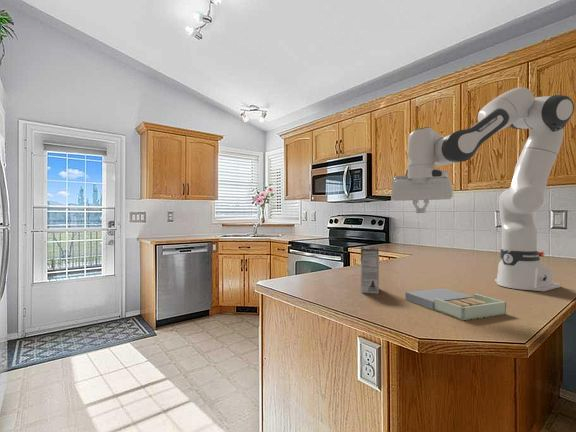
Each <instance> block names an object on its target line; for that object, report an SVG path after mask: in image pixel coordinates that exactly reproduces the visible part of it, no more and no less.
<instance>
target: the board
mask: <svg viewBox="0 0 576 432" xmlns="http://www.w3.org/2000/svg"><path fill="white" fill-rule="evenodd" d="M434 298H437V299H440V300H443V301H453V300H461V299H468V298H473V296H471V295H468V294H465V293H461V292H458V291H454V290H451V289H447V288H445V287H444V288H443V287H442V288H441V287H439V288H433V289H424V290H415V291H414V290H413V291H406V292H405V300H406V301H407V302H410V303H413V304H416V305H418V306H421V307H424V308H426V307H427V309H429V308H430V309H429V310H432V311H435V310H434Z"/></svg>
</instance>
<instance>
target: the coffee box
mask: <svg viewBox="0 0 576 432" xmlns="http://www.w3.org/2000/svg"><path fill="white" fill-rule="evenodd" d="M378 247H379V246H360V289H361V291H360V292H361V294H375V295H377V294H378V295H379V293H380V292H379V289H380V288H379V286H380V285H379V283H380V282H379V276H380V275H379V273H380V271H379V267H380V266H379V265H380V261H379V260H380V259H379V258H380V255H379V254H380V253H379V248H378Z"/></svg>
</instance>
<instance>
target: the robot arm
mask: <svg viewBox="0 0 576 432" xmlns="http://www.w3.org/2000/svg"><path fill="white" fill-rule="evenodd" d="M574 111H575V104H574V102H573V99H572V98H571V97H570V96H568V95H565V94H564V95H563V94H554V95H547V96H544V95H543V96H538V97H537V96H536V97H535V96H534V94H533V92H532V91H531V90H530V89H529V88H528V87H523V86H519V87H514V88H512V89H509V90H507V91H505V92H503V93H502V94H499V95H497V96H496V97H495V98H492V100H491V101H489V102H488V103H486V105H485V104H484V106H483V107H482V108H481V109H480V110H479V111H478V113H477V122H476V123H475V124H473V125H472V126H470V127H469V128H464V129H459V130H455V131H454V132H452V133H450V134H449V135H448V134H447V135H446V136H445V135H442V134H439V133H438V132H436V131H435V130H434V129H433V128H432V127H431V126H430V127H429V126H425V127H420V128H417V129H415V130H413V131H412V132H410V133H409V135H408V141H407V158H408V163H407V174H405V175H404V174H403V175H396V176H394V177H393V178H392V179H391V200H392V201H395V202H396V201H398V202H401V201H403V202H404V201H412V205H413V206H414V208H415V213H416V214H426V213H427V209H426V208H427V207H428V205H429V204H430V201H434V200H435V201H437V200H440V201H441V200H443V201H444V200H451V199H453V197H454V192H453V185H452V184H453V183H452V181H451V180H450V179H449V176H450V174H449V172H448V171H447V170H443V169H440V168H435V166H441V167H442V166H447V165H450V164H456V163H461V162H467V161H469V160H470V159H472V158H473V157H474V156H475V154H476V153H477V152H478V150H479V149H480V147H481V145H482V144H483V143H484V142H485V141H487V140H488V139H489V138H491V137H492V136H494V135H495V134H496V133H498V132H501V131H503V130H505V129H506V128H508V127H509V128H512V129H514V130H523V129H524V130H529V136H528V138H527V139H526V141H525V143H524V146H523V147H522V150H521V153H520V154H519V157H518V160H517V162H516V165H515V166H514V171H513V177H512V180H511V184H510V186H509V188H507V189H505V190H504V191H503V192H501V193H500V195H499V197H498V208H499V209H498V211H499V218H500V225H501V249H500V251H499V254H500V256H499V258H500V261H499V262H498V267H497V275H496V276H497V277H496V278H495V279H494V282H496V284H497V286H501V287H504V288H510V289H514V290H525V291H537V292H547V291H551V290H555V289H558V288H561V284H560V283H558V282H555V281H554V279H553V273H552V270H551V269H549V268H548V267H547V266H546V265H545V264H544V263H543V262H542V261H541V259H540V258H541V257H542V258H543V257H545V252H544V251H539V250H537V237H538V236H537V234H538V232H537V228H536V225H535V221H534V216H533V215H534V214H533V213H535V212H536V211H538V210H539V209H540V208H541V207H542V206H543V204H544V198H545V197H544V196H545V193H546V189H547V185H548V184H547V183H548V180H549V176H550V173H551V171H552V170H553V166H554V164H555V163H556V160H557V157H558V155H559V153H560V150H561V147H562V144H563V139H564V132H565V131H564V129H563V128H564V127H565V126H566V125H567V123H568V122H570V119H571V118H572V116H573V113H574ZM419 201H423V204H424V205H423V206H422V207H419V205H418V204H419Z"/></svg>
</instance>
